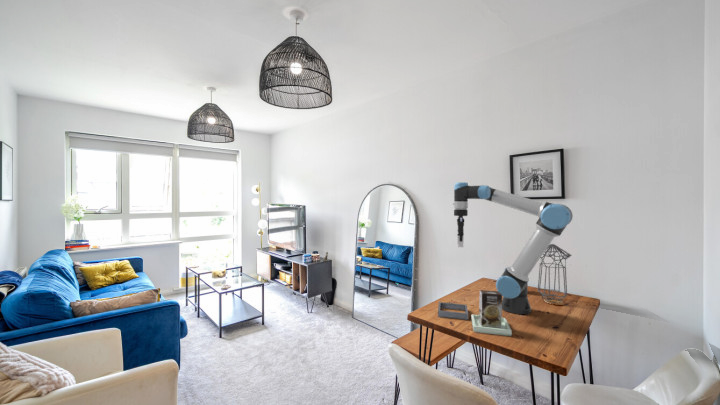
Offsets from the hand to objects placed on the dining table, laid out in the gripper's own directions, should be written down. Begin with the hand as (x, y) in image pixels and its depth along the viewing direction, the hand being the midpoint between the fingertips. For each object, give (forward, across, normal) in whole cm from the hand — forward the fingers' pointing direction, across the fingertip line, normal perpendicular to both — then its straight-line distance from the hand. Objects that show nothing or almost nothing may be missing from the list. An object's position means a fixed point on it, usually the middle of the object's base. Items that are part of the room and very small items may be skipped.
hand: (460, 245), depth 180 cm
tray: (+35, +29, +13) cm, 47 cm away
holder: (+35, +15, -4) cm, 38 cm away
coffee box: (+34, +29, +13) cm, 47 cm away
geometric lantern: (+35, -27, +55) cm, 71 cm away
